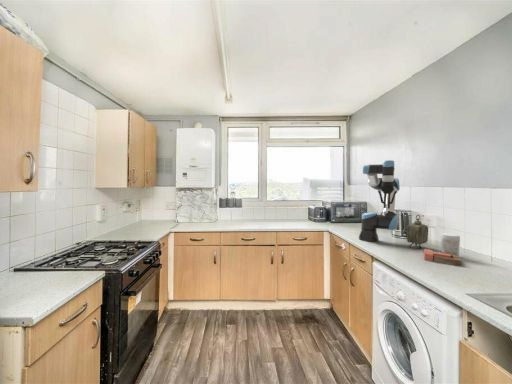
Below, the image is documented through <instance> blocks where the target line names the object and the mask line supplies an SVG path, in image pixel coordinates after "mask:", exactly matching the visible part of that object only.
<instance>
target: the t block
mask: <svg viewBox="0 0 512 384" xmlns="http://www.w3.org/2000/svg"><path fill="white" fill-rule="evenodd" d="M432 251H433V250H432V249H429V248H424V249H423V256H424V258H423V259H424V261H428V262H434V260H433V257H434V255H436V256H443V257H449V258H451V255H450V254H445V253H438V252H439V251H434V252H432Z"/></svg>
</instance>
